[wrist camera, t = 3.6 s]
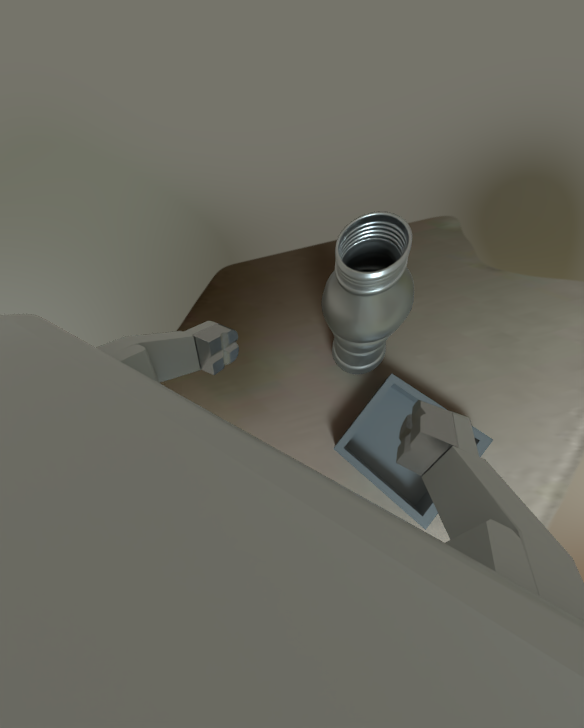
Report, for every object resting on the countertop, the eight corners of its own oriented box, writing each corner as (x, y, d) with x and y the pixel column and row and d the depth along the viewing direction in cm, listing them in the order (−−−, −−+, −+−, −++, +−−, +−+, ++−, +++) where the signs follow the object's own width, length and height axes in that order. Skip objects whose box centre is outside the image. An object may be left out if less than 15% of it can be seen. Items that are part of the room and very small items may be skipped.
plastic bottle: (324, 361, 30) (282, 272, 11) (350, 323, 30) (353, 174, 12) (364, 387, 28) (395, 329, 9) (392, 345, 28) (479, 206, 9)
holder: (416, 515, 23) (425, 529, 20) (335, 445, 27) (333, 448, 24) (476, 436, 24) (493, 439, 21) (387, 377, 27) (391, 373, 25)
